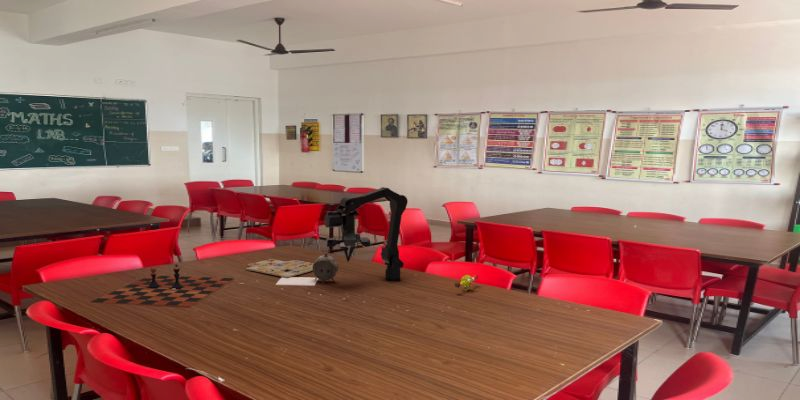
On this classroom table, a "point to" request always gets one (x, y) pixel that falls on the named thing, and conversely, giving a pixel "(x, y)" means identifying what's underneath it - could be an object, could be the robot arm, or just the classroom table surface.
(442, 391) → the classroom table surface
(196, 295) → the chessboard
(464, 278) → the toy figure
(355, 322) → the classroom table surface
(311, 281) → the white sheet of paper
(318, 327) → the classroom table surface
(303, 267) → the alphabet tiles
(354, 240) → the robot arm
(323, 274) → the alarm clock
